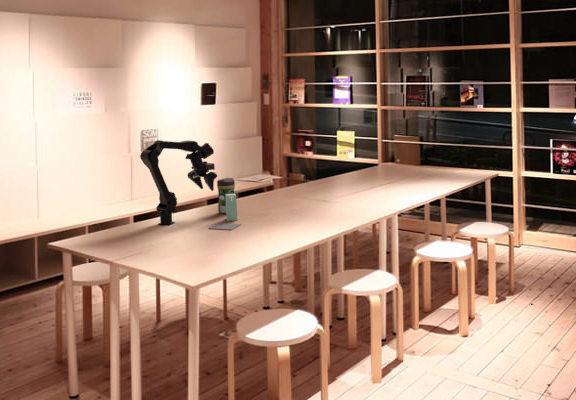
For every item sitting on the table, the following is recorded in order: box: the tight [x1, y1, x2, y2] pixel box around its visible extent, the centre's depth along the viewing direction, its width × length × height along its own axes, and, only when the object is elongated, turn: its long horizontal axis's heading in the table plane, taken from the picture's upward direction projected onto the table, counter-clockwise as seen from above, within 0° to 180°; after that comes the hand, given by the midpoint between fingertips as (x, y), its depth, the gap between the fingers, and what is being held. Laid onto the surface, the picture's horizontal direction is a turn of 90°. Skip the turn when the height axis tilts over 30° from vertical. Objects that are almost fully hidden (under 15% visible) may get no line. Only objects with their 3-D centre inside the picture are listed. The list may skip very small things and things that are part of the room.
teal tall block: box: [225, 193, 238, 222], centre depth 359 cm, size 5×5×13 cm
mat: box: [208, 222, 242, 231], centre depth 343 cm, size 12×12×1 cm
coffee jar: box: [216, 177, 236, 215], centre depth 377 cm, size 10×8×19 cm
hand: (207, 189), depth 368 cm, fingers open, 9 cm apart
